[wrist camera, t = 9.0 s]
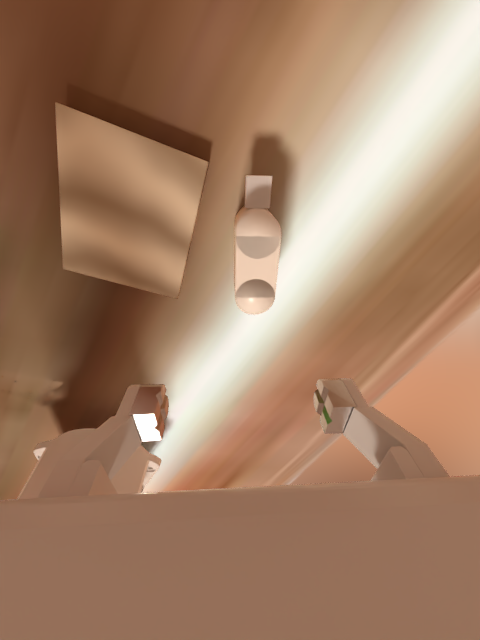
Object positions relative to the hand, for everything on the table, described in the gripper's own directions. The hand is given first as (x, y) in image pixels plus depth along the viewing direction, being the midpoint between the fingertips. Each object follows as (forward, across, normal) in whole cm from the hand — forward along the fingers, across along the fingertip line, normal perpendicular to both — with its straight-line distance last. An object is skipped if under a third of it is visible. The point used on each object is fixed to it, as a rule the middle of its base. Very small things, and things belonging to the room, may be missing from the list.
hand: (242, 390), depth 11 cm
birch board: (+19, +10, -4) cm, 22 cm away
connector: (+19, -2, -1) cm, 19 cm away
